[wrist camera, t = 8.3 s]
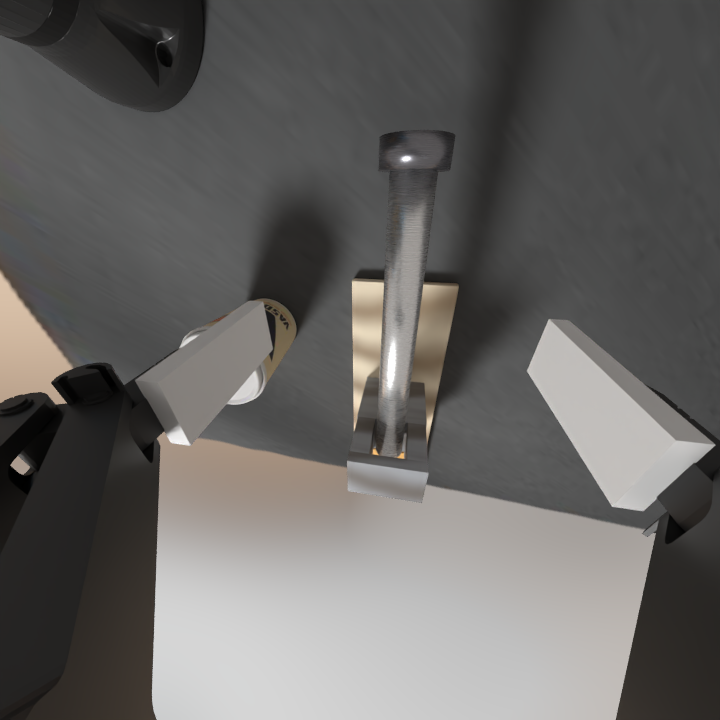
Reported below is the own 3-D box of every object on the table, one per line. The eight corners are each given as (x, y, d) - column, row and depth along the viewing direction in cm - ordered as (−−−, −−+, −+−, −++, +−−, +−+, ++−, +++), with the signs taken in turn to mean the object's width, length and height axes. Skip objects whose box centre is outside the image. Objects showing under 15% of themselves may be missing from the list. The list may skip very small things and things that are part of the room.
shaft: (383, 144, 18) (375, 131, 14) (450, 142, 17) (460, 129, 14) (372, 431, 33) (367, 461, 29) (408, 436, 32) (407, 467, 28)
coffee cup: (312, 314, 35) (272, 362, 25) (290, 363, 40) (249, 419, 30) (248, 278, 34) (179, 313, 24) (233, 333, 39) (171, 381, 29)
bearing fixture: (354, 278, 32) (313, 335, 19) (457, 283, 30) (490, 350, 17) (355, 453, 49) (335, 546, 36) (421, 463, 47) (425, 564, 34)
